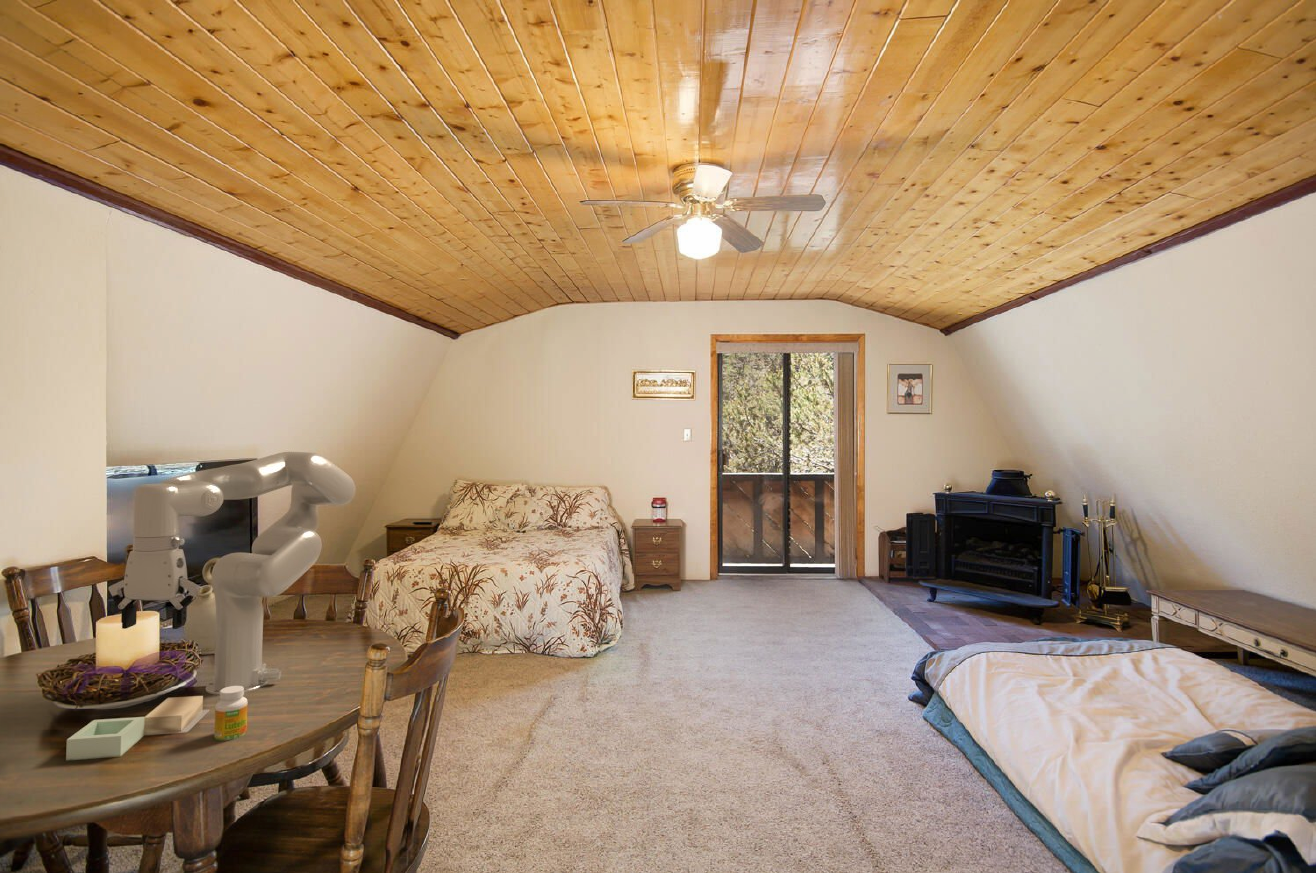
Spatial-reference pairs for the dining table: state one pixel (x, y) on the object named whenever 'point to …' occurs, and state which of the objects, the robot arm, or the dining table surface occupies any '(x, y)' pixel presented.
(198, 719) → the mat
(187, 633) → the jug
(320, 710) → the dining table surface
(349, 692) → the dining table surface
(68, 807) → the dining table surface
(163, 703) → the wooden block
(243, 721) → the supplement bottle
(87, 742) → the sage green tray
